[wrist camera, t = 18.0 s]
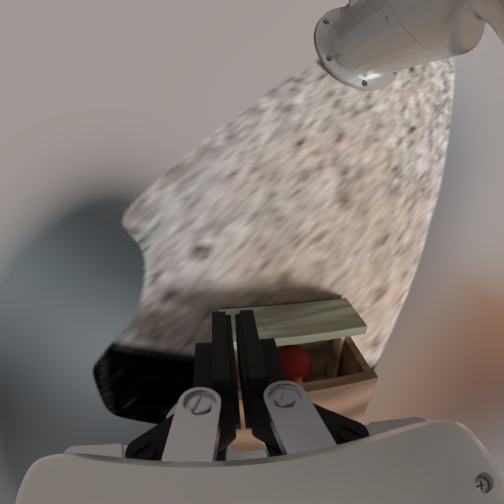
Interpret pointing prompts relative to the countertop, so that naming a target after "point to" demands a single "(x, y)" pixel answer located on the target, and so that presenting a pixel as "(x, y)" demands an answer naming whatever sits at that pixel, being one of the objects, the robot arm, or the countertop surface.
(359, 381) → the cabinet
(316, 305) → the drawer
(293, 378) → the onion
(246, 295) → the countertop surface
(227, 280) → the countertop surface
